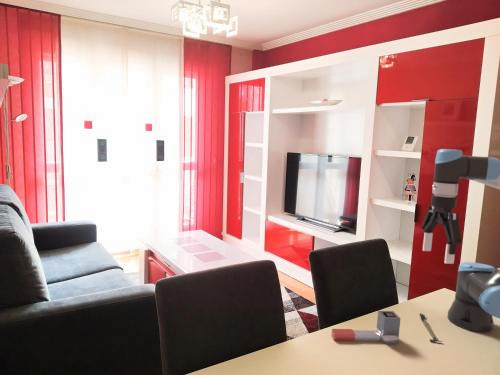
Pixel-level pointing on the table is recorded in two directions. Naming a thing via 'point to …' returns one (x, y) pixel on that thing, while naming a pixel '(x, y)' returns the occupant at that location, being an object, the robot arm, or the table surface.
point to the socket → (388, 323)
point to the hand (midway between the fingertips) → (437, 256)
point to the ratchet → (364, 335)
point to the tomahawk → (429, 330)
